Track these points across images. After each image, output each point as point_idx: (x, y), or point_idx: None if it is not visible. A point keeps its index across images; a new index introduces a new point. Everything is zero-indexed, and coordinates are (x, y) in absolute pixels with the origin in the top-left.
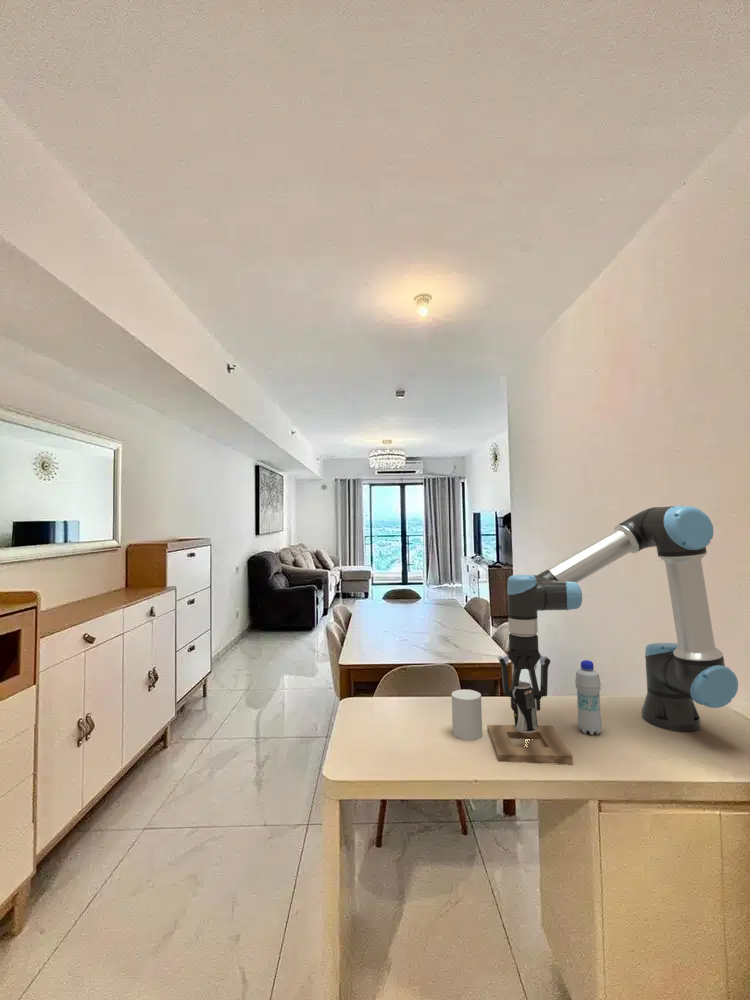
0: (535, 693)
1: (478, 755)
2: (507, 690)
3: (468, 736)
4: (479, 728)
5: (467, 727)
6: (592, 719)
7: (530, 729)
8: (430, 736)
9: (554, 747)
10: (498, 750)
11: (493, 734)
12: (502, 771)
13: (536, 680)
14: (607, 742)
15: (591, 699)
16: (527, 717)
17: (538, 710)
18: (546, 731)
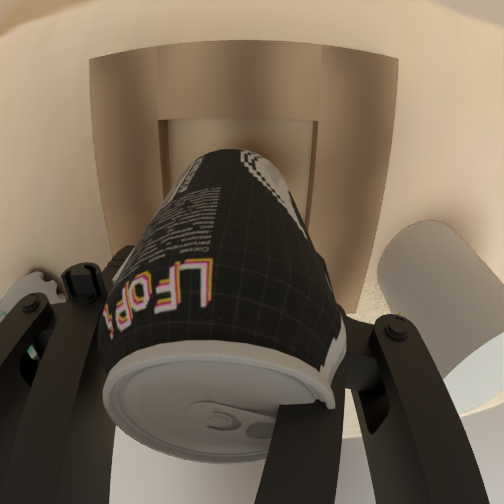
0: (94, 320)
1: (432, 139)
2: (403, 358)
3: (448, 233)
4: (416, 260)
5: (466, 250)
6: (13, 294)
7: (220, 150)
8: (498, 273)
9: (136, 119)
10: (389, 92)
11: (364, 239)
12: (378, 15)
13: (22, 427)
14: (13, 232)
15: None
16: (227, 169)
17: (133, 245)
18: None
